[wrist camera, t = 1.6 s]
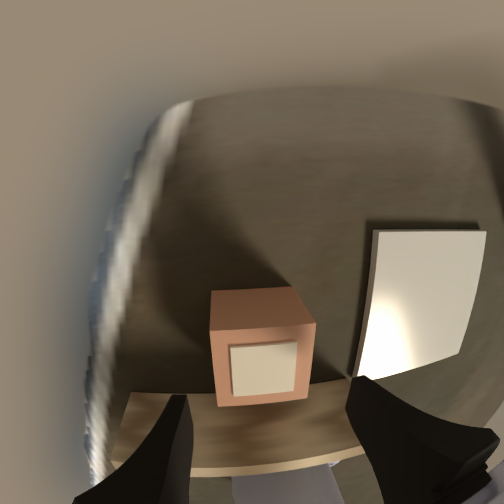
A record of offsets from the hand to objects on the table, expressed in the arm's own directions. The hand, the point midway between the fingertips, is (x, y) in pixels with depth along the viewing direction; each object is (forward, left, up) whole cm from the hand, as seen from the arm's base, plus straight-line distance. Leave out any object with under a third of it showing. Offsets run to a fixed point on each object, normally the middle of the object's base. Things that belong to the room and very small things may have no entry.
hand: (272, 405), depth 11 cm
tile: (+11, -8, -8) cm, 16 cm away
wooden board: (-5, -5, -8) cm, 10 cm away
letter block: (0, 0, -8) cm, 8 cm away
